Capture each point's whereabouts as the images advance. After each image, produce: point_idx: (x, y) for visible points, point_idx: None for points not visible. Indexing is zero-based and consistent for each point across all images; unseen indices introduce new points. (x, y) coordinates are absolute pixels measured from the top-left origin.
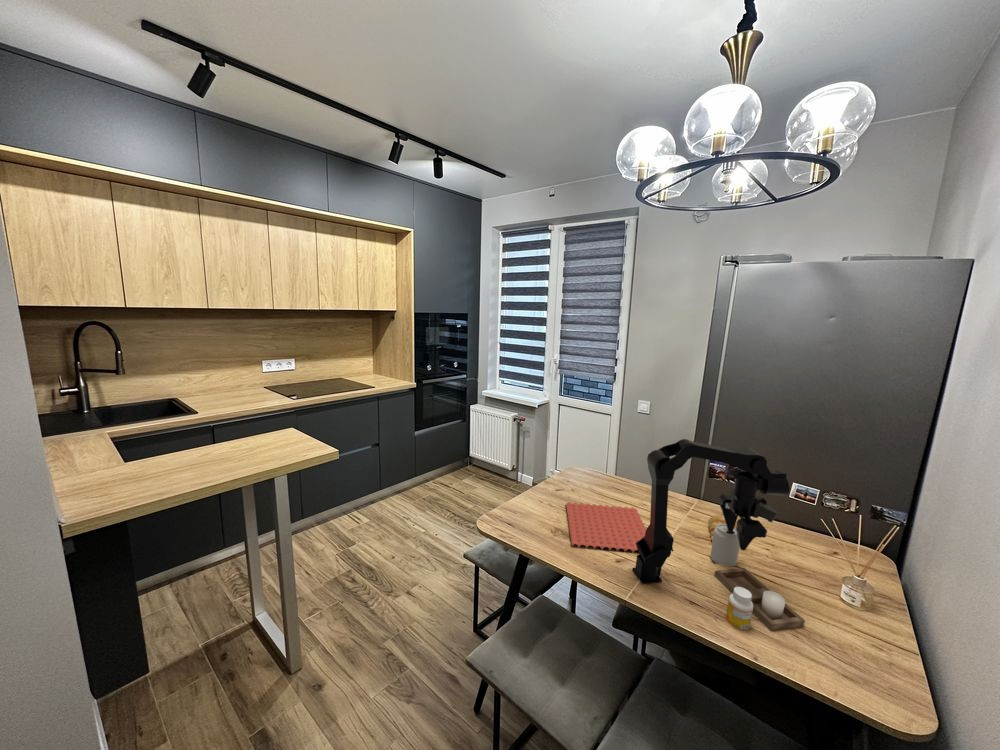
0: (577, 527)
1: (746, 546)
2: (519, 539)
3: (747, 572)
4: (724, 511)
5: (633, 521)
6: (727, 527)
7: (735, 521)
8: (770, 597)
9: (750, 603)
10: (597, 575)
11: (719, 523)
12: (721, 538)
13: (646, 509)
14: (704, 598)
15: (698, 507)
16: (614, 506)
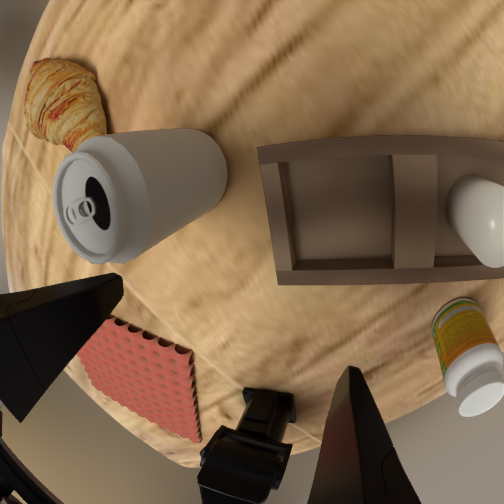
0: (151, 416)
1: (370, 406)
2: (199, 462)
3: (288, 151)
4: (28, 407)
5: None
6: (104, 318)
7: (48, 306)
8: (499, 247)
9: (498, 366)
10: None
11: (48, 125)
12: (140, 254)
13: (46, 257)
14: (362, 343)
15: (19, 127)
16: None
